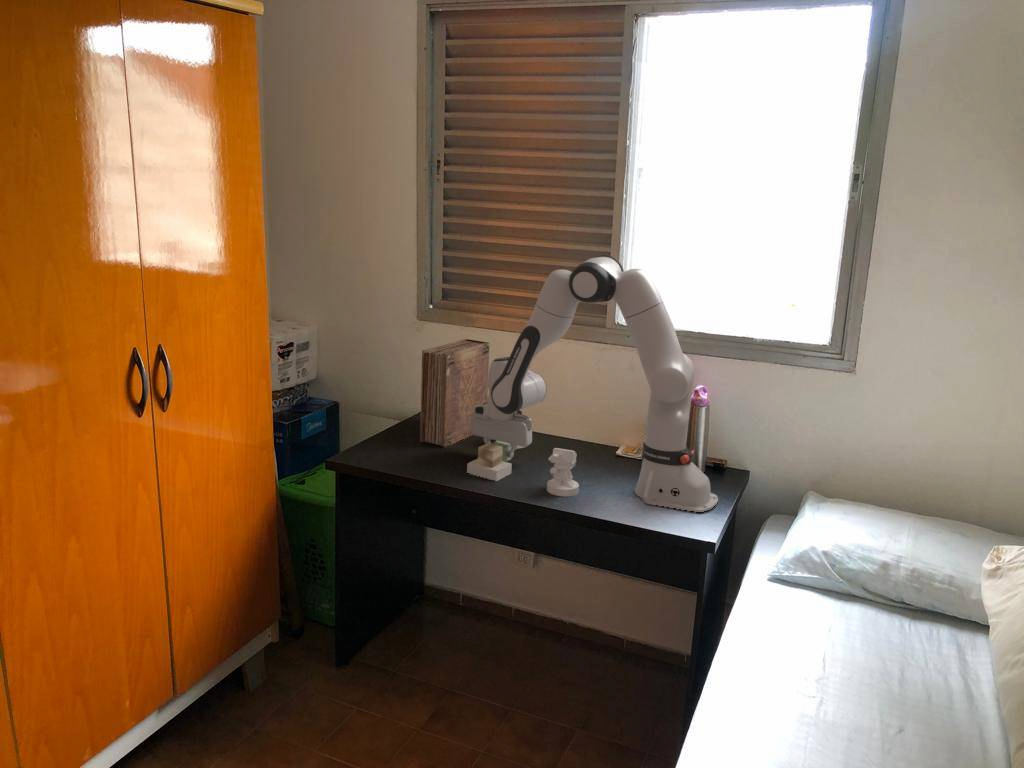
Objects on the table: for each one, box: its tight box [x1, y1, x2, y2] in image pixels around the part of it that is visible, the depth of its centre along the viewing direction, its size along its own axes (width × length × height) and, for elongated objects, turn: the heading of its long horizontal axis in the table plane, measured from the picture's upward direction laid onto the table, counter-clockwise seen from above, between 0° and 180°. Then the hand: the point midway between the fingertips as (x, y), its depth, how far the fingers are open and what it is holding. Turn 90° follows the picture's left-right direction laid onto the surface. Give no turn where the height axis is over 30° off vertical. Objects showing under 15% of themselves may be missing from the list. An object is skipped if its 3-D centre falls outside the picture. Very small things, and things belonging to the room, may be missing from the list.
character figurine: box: [546, 447, 580, 497], centre depth 223 cm, size 9×10×12 cm
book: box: [419, 338, 490, 449], centre depth 263 cm, size 25×9×30 cm, turn 150°
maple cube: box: [477, 443, 503, 468], centre depth 233 cm, size 5×5×5 cm
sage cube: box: [491, 440, 512, 462], centre depth 245 cm, size 5×5×5 cm
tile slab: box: [466, 458, 513, 482], centre depth 234 cm, size 10×8×3 cm
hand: (499, 454), depth 246 cm, fingers open, 6 cm apart
